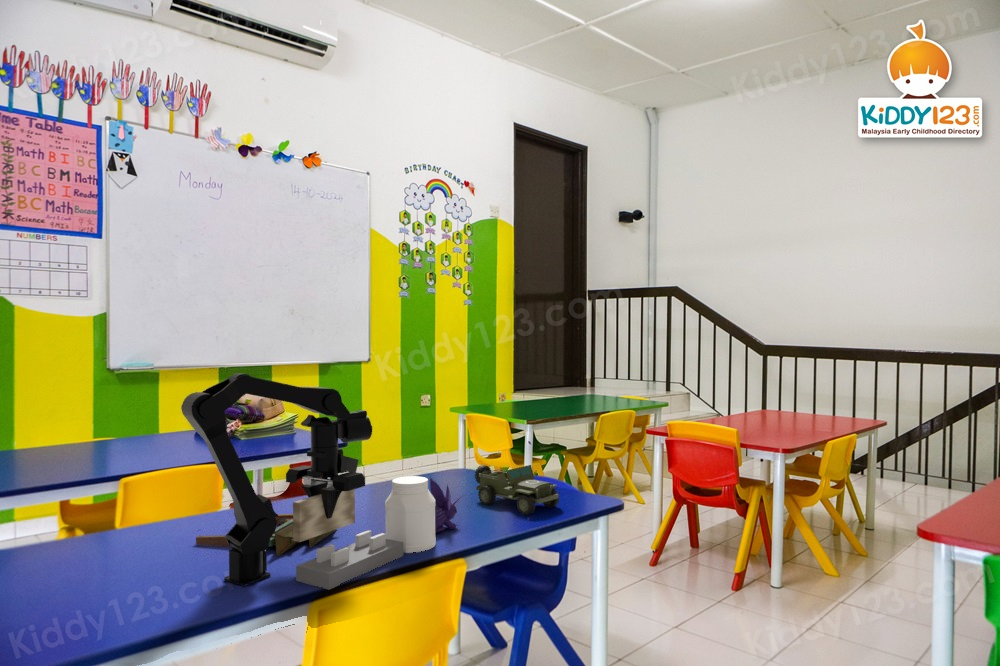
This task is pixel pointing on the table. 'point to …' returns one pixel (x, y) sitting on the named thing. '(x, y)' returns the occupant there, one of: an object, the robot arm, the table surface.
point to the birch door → (321, 516)
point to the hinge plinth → (348, 560)
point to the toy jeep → (515, 488)
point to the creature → (443, 507)
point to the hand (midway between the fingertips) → (325, 517)
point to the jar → (411, 514)
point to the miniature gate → (279, 538)
